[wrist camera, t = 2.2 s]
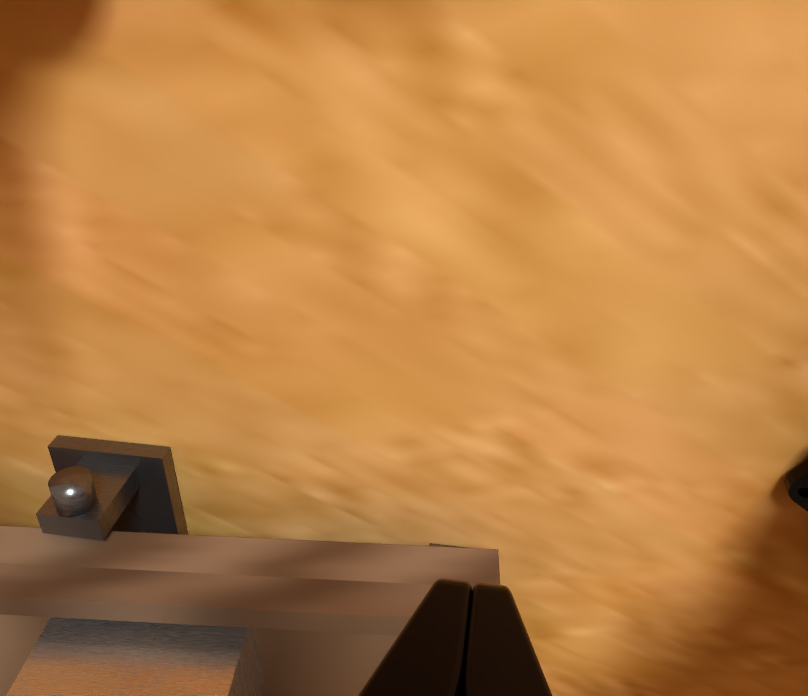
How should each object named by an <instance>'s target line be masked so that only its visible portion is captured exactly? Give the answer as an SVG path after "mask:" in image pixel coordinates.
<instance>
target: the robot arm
mask: <svg viewBox="0 0 808 696" xmlns="http://www.w3.org/2000/svg"><path fill="white" fill-rule="evenodd" d="M805 484H808V461H806V462H805V463H803V464H802V465H800V466H799V467H798V468H796V469H795V470H793V471H792V472H791V473H790V474H788V475H787V476H786V479H785V487H786V490H787V492H788V495H789V497H790V498H791V499H792V500H793V501H794V502H795V503H797V504H798V505H800V506H801V507H802V508H804V509H805V510H806V511H808V487H807V488H800V487H801V486H802V485H805ZM358 696H552V694H551V691H550V689H549V686H548V684H547V681H546V679H545V676H544V674H543V671H542V669H541V666H540V664H539V661H538V659H537V656H536V654H535V651H534V648H533V646H532V643H531V641H530V638H529V636H528V633H527V631H526V628H525V626H524V623H523V621H522V618H521V616H520V613H519V611H518V608H517V606H516V603H515V601H514V598H513V596H512V593H511V592H510V590H509V589H508V588H507V587H506V586H503V585H495V584H487V583H476V584H475V585H474V586H473V589H472V586H471V584H470V583H469V582H467V581H462V580H454V579H446V578H440V579H438V580H436V581H435V582H434V584H433V585H432V586H431V588H430V589H429V591H428V592H427V594H426V595H425V597H424V598H423V600H422V601H421V603H420V604H419V606H418V607H417V609H416V610H415V612H414V613H413V615H412V616H411V618H410V619H409V621H408V622H407V624H406V625H405V626H404V628H403V629H402V631H401V632H400V634H399V635H398V637H397V638H396V640H395V641H394V643H393V644H392V646H391V647H390V649H389V650H388V652H387V653H386V655H385V656H384V658H383V659H382V661H381V662H380V664H379V665H378V666H377V668H376V669H375V671H374V672H373V674H372V675H371V677H370V678H369V680H368V681H367V683H366V684H365V686H364V687H363V689H362V690H361V692H360V693H359V695H358Z"/></svg>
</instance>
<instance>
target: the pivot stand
mask: <svg viewBox="0 0 808 696" xmlns="http://www.w3.org/2000/svg"><path fill="white" fill-rule="evenodd" d="M48 449H49V452H50V455H51V459H52V462H53V465H54V468H55V471H56V473H55V474H54V475H53V476H52V477H51V478H50V480H49V482H48V486H49V489H50V492H51V496H50V498H49V499H48V500H47V501H46V502H45V504H44V505H43V506H42V507H41V509H40V510H39V511H38V512H37V513H36V515H37V518H38V521H39V524H40V527H41V529H42V532H43V533H46V534H54V535H63V536H71V537H79V538H87V539H95V540H104V539H105V537H106V536H107V534H108V533H109V531H118V532H139V533H160V534H181V535H188V533H187V528H186V523H185V518H184V513H183V508H182V504H181V499H180V494H179V489H178V484H177V479H176V474H175V469H174V464H173V460H172V455H171V450H170V447H164V446H154V445H145V444H135V443H126V442H116V441H107V440H97V439H87V438H78V437H68V436H59V435H58V436H57V437H56V438H55V439H54V440H53V441H52V442H51V443H50V444H49V446H48ZM430 546H433V547H454V548H466V547H457V546H448V545H440V544H431V543H430Z"/></svg>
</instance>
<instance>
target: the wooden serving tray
mask: <svg viewBox="0 0 808 696" xmlns="http://www.w3.org/2000/svg"><path fill="white" fill-rule="evenodd" d="M440 578H446V579H454V580H462V581H467V582H469V583H470V584H471V586H472V589H473V586H474V585H475V584H476V583H487V584H495V585H500V573H499V556H498V550H496V549H475V548H454V547H433V546H412V545H391V544H370V543H349V542H328V541H307V540H286V539H265V538H244V537H223V536H202V535H181V534H160V533H139V532H118V531H109V533H108V534H107V536H106V537H105V539H104V540H95V539H87V538H79V537H71V536H63V535H54V534H46V533H43V532H42V529H41V528H34V527H13V526H0V696H6V695H7V693H8V691H9V690H10V688H11V686H12V684H13V683H14V681H15V679H16V677H17V676H18V674H19V672H20V670H21V669H22V667H23V665H24V663H25V662H26V660H27V658H28V656H29V654H30V653H31V651H32V649H33V647H34V646H35V644H36V642H37V640H38V639H39V637H40V635H41V633H42V632H43V630H44V628H45V626H46V625H47V623H48V621H49V619H50V617H58V618H76V619H95V620H113V621H131V622H150V623H168V624H187V625H205V626H224V627H242V628H257V634H258V641H259V648H260V654H261V661H262V667H263V674H264V680H265V687H266V693H267V696H358V695H359V693H360V692H361V690H362V689H363V687H364V686H365V684H366V683H367V681H368V680H369V678H370V677H371V675H372V674H373V672H374V671H375V669H376V668H377V666H378V665H379V664H380V662H381V661H382V659H383V658H384V656H385V655H386V653H387V652H388V650H389V649H390V647H391V646H392V644H393V643H394V641H395V640H396V638H397V637H398V635H399V634H400V632H401V631H402V629H403V628H404V626H405V625H406V624H407V622H408V621H409V619H410V618H411V616H412V615H413V613H414V612H415V610H416V609H417V607H418V606H419V604H420V603H421V601H422V600H423V598H424V597H425V595H426V594H427V592H428V591H429V589H430V588H431V586H432V585H433V584H434V582H435V581H436V580H438V579H440Z"/></svg>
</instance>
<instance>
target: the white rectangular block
mask: <svg viewBox="0 0 808 696" xmlns="http://www.w3.org/2000/svg"><path fill="white" fill-rule="evenodd" d="M6 696H267V693H266V687H265V680H264V674H263V667H262V661H261V654H260V648H259V641H258V634H257V628H242V627H224V626H205V625H187V624H168V623H150V622H131V621H113V620H95V619H76V618H58V617H50V619H49V621H48V623H47V625H46V626H45V628H44V630H43V632H42V633H41V635H40V637H39V639H38V640H37V642H36V644H35V646H34V647H33V649H32V651H31V653H30V654H29V656H28V658H27V660H26V662H25V663H24V665H23V667H22V669H21V670H20V672H19V674H18V676H17V677H16V679H15V681H14V683H13V684H12V686H11V688H10V690H9V691H8V693H7V695H6Z"/></svg>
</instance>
